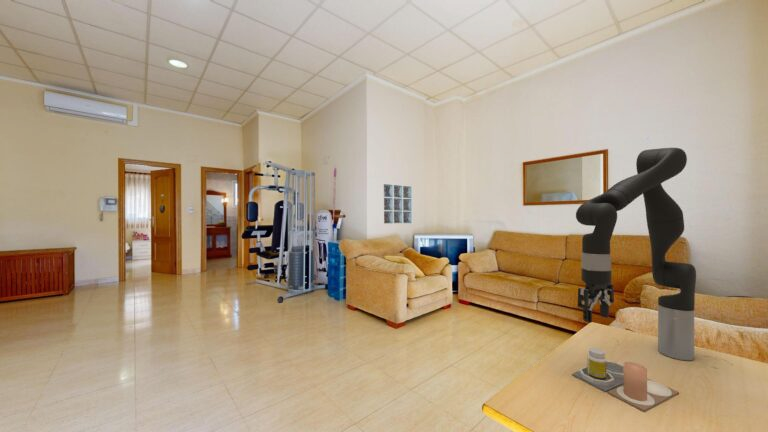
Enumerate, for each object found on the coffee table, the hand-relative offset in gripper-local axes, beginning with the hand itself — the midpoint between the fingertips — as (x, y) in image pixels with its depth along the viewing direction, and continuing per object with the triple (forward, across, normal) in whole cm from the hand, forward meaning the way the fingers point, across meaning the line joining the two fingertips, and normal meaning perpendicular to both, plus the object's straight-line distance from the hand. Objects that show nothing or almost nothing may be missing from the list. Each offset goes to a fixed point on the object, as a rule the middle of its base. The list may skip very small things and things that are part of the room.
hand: (596, 319), depth 90 cm
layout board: (+18, -3, +6) cm, 20 cm away
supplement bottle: (+18, +1, 0) cm, 18 cm away
